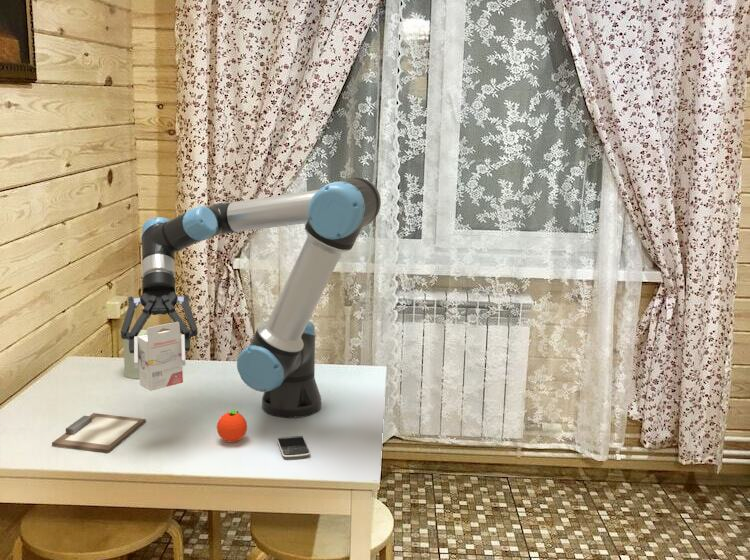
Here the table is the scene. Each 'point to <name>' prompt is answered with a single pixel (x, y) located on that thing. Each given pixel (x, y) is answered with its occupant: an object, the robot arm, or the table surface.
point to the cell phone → (293, 447)
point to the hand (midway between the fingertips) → (160, 364)
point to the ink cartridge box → (160, 357)
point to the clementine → (232, 426)
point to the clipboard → (98, 432)
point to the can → (131, 359)
